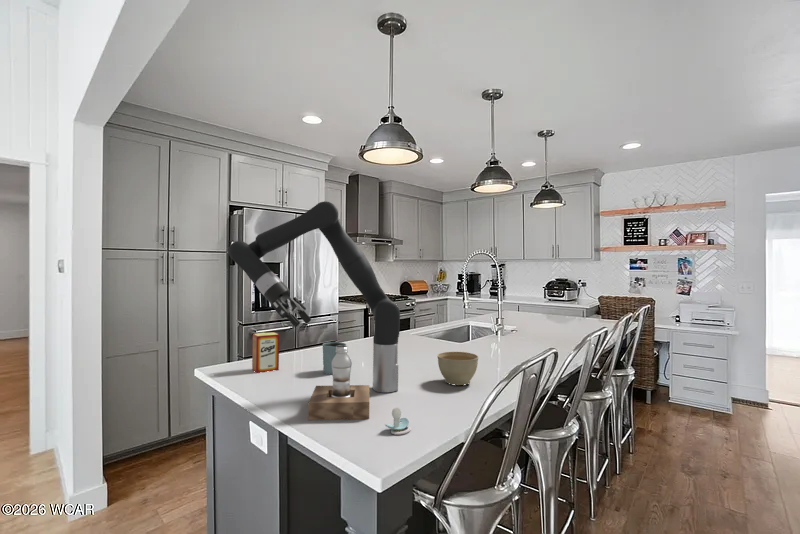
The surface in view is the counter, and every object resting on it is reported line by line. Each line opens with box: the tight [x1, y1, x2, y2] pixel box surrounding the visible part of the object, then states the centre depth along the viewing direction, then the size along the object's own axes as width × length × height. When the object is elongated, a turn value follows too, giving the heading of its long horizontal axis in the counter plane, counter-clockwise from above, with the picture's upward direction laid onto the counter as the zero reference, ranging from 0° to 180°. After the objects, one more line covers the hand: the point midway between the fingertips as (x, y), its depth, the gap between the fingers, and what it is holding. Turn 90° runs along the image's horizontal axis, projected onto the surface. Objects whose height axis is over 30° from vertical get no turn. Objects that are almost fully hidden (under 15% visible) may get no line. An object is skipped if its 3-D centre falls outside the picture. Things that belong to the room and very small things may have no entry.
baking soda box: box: [251, 331, 280, 374], centre depth 171 cm, size 10×6×16 cm
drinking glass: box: [322, 341, 347, 375], centre depth 169 cm, size 10×10×12 cm
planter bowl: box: [437, 351, 479, 386], centre depth 155 cm, size 16×16×11 cm
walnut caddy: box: [307, 384, 370, 421], centre depth 125 cm, size 18×17×5 cm
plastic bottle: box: [331, 345, 353, 397], centre depth 125 cm, size 6×7×20 cm
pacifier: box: [384, 406, 412, 436], centre depth 109 cm, size 7×6×6 cm
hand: (303, 323), depth 130 cm, fingers open, 8 cm apart
